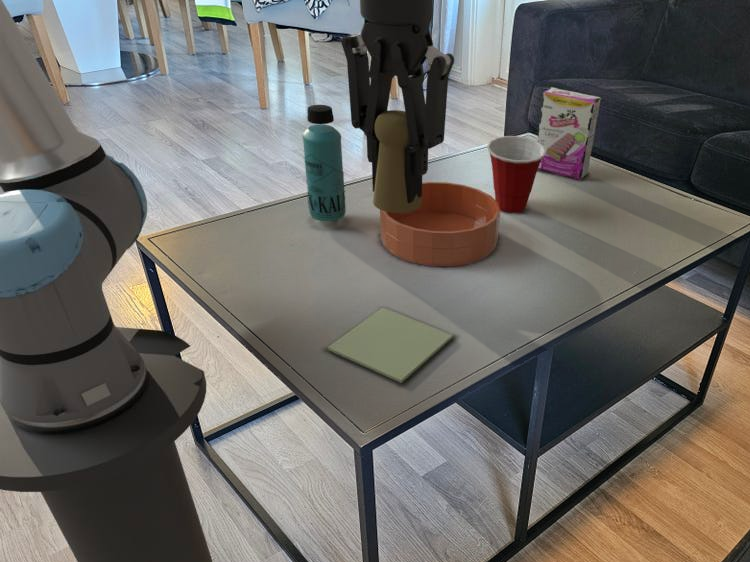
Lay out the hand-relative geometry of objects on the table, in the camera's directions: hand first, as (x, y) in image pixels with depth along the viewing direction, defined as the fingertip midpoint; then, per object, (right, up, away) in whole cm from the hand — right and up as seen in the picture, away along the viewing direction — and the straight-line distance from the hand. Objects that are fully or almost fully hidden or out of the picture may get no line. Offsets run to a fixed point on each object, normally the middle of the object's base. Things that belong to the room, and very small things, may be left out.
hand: (397, 193), depth 80 cm
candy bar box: (+28, +20, +61) cm, 70 cm away
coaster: (-2, -18, +7) cm, 20 cm away
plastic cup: (+16, +9, +45) cm, 49 cm away
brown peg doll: (0, -1, +1) cm, 1 cm away
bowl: (+3, +1, +33) cm, 33 cm away
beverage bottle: (-17, +4, +35) cm, 39 cm away
